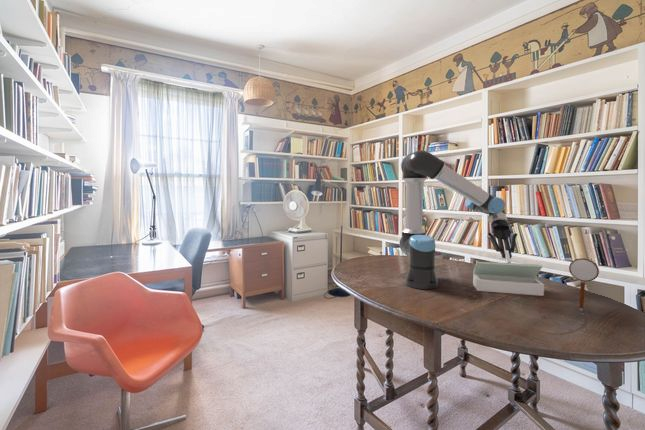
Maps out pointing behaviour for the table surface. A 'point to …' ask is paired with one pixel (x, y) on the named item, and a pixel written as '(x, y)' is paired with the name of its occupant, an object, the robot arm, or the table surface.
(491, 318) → the table surface
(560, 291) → the table surface
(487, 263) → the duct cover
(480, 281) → the cable duct
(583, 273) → the magnifying glass
